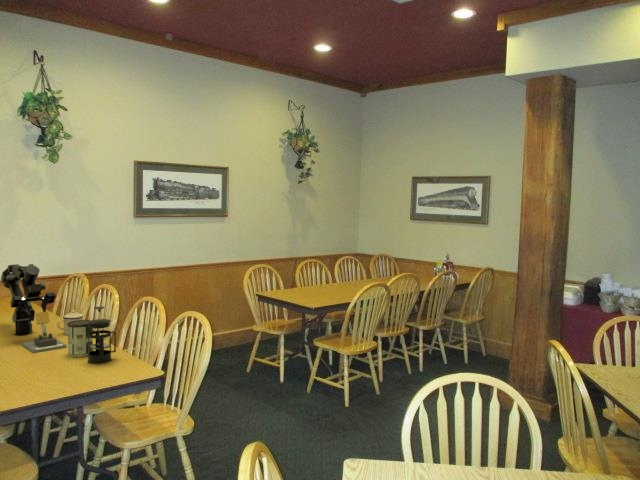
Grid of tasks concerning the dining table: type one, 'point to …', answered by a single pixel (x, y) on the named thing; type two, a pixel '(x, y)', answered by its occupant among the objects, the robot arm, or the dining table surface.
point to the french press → (100, 341)
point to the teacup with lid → (69, 320)
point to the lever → (42, 321)
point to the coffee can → (79, 338)
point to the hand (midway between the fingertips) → (37, 314)
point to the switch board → (32, 347)
